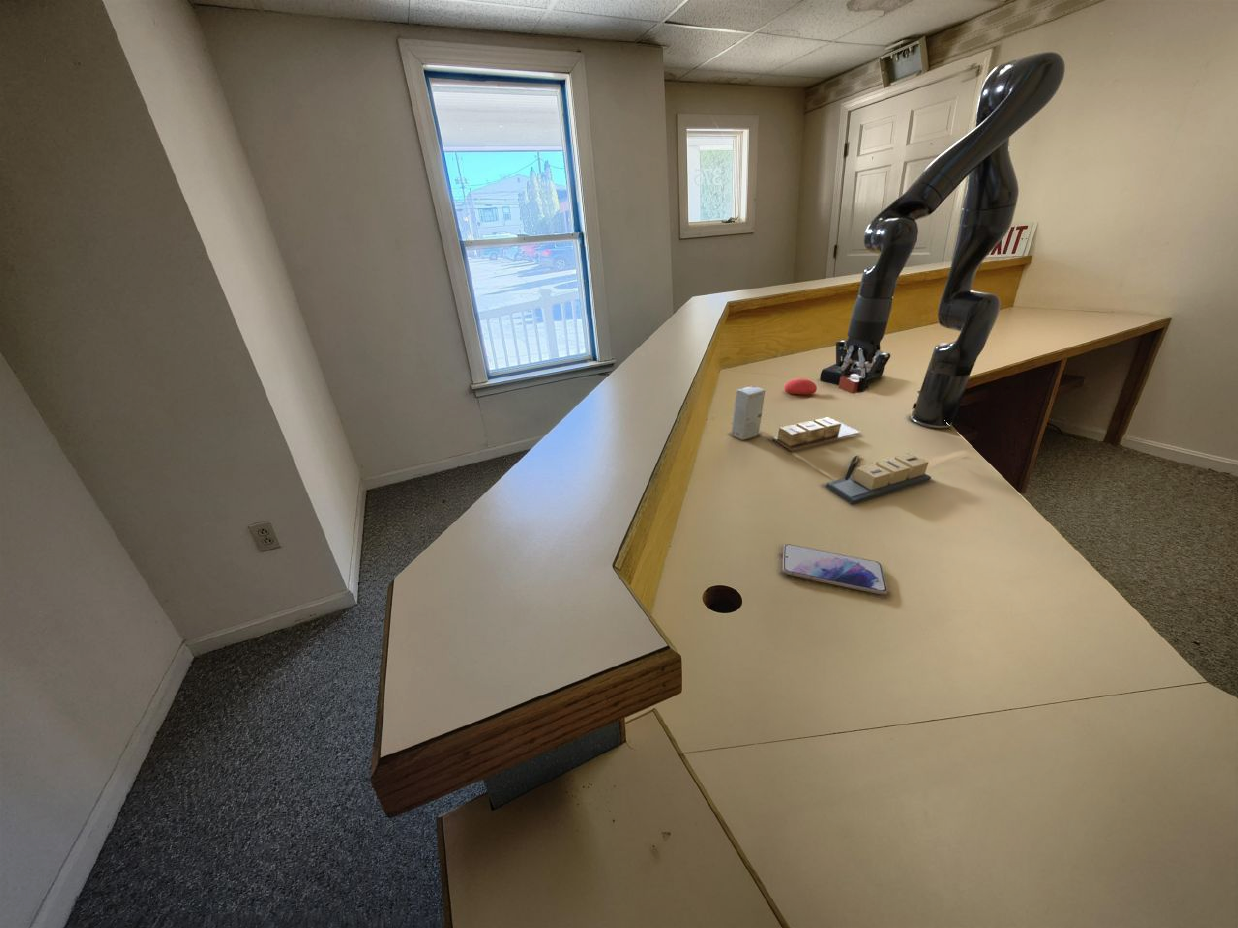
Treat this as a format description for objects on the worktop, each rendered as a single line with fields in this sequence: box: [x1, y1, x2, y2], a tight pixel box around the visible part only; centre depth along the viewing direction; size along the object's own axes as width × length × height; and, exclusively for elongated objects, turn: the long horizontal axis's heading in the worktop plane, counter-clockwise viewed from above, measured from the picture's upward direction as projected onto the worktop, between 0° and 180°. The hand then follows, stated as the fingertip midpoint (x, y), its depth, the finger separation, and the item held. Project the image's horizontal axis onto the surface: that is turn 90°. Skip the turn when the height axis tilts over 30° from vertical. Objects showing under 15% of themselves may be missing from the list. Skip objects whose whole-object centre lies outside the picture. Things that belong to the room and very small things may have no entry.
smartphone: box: [782, 543, 888, 596], centre depth 72 cm, size 7×1×15 cm
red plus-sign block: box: [838, 374, 867, 395], centre depth 110 cm, size 4×4×3 cm
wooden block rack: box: [825, 452, 932, 505], centre depth 94 cm, size 22×7×4 cm, turn 113°
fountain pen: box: [844, 454, 860, 480], centre depth 99 cm, size 14×1×2 cm, turn 145°
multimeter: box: [819, 361, 886, 386], centre depth 152 cm, size 13×19×5 cm
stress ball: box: [783, 378, 818, 396], centre depth 140 cm, size 5×9×6 cm
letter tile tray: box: [771, 416, 861, 453], centre depth 113 cm, size 22×7×4 cm, turn 113°
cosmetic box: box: [731, 385, 766, 441], centre depth 113 cm, size 6×4×12 cm
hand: (852, 388), depth 111 cm, fingers closed on red plus-sign block, 4 cm apart
